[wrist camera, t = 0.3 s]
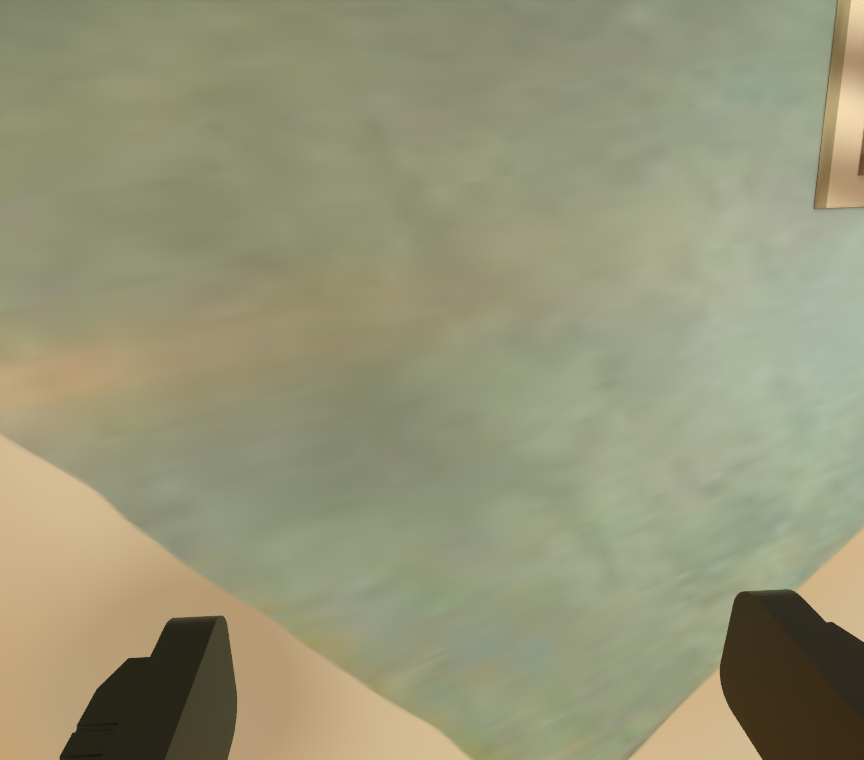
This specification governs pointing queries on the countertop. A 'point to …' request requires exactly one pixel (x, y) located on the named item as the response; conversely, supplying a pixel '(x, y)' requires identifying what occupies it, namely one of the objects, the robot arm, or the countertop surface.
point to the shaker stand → (844, 114)
